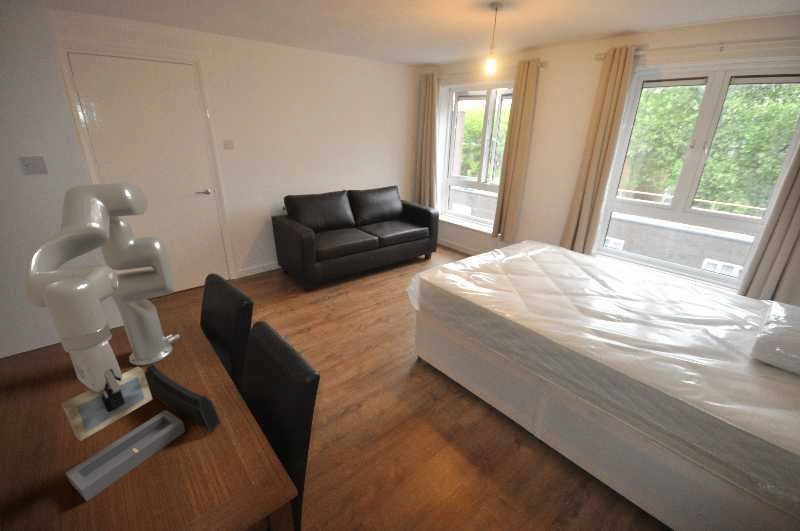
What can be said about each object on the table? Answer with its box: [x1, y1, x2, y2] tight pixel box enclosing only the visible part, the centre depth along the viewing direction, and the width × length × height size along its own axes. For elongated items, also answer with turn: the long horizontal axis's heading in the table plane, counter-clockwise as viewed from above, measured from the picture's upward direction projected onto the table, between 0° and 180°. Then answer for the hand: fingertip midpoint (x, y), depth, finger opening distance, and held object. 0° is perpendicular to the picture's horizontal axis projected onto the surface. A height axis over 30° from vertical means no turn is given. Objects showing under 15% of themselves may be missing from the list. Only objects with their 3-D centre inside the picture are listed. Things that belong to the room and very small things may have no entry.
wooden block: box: [61, 366, 153, 442], centre depth 75 cm, size 14×3×9 cm, turn 151°
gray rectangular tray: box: [65, 409, 186, 502], centre depth 81 cm, size 21×8×4 cm, turn 151°
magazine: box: [144, 363, 221, 432], centre depth 93 cm, size 17×3×30 cm
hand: (112, 404), depth 75 cm, fingers closed on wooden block, 2 cm apart
